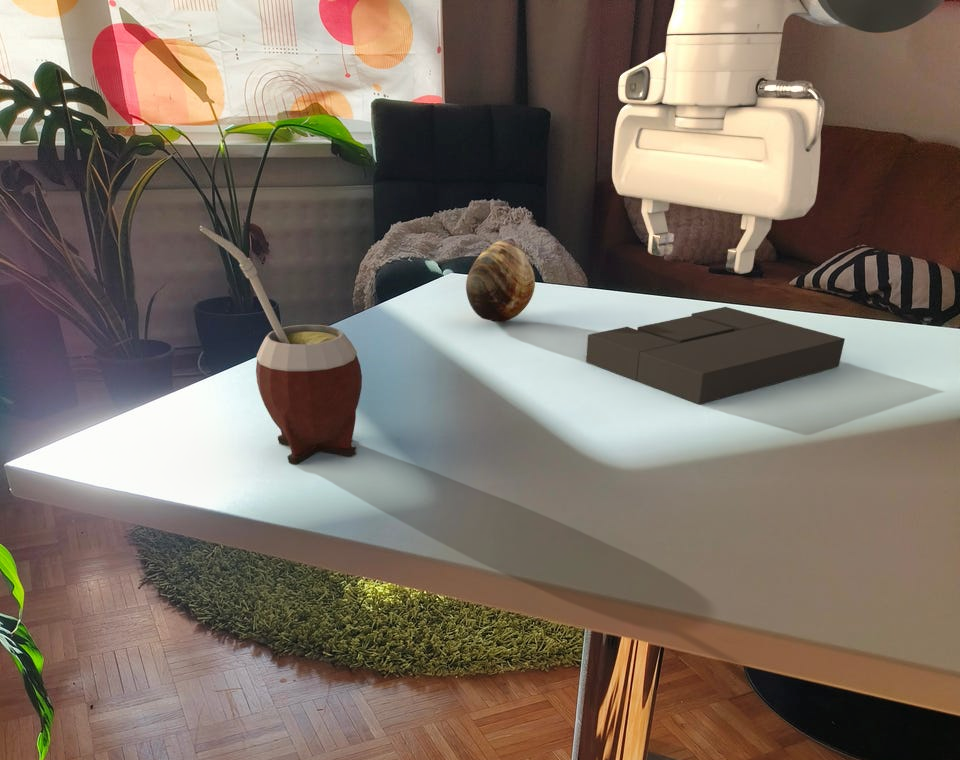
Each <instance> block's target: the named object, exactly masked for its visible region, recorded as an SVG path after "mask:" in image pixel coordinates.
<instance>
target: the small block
mask: <svg viewBox="0 0 960 760" xmlns="http://www.w3.org/2000/svg"><path fill="white" fill-rule="evenodd" d="M636 330H639V331H642V332H645V333H649V334H652V335H655V336H658V337H661V338H664V339H668V340H671V341H674V342H677V343H684V342H688V341H693V340H697V339H702V338H707V337H711V336H716V335H720V334H725V333H729V332H734V328H732V327H728V326H724V325H721V324H717V323H714V322H710V321H707V320H703V319H699V318H696V317H692V316H691V315H689V316H683V317H680V318H679V317H678V318H673V319H669V320H665V321H660V322H655V323H651V324H645V325H640V326H637V327H636Z"/></svg>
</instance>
